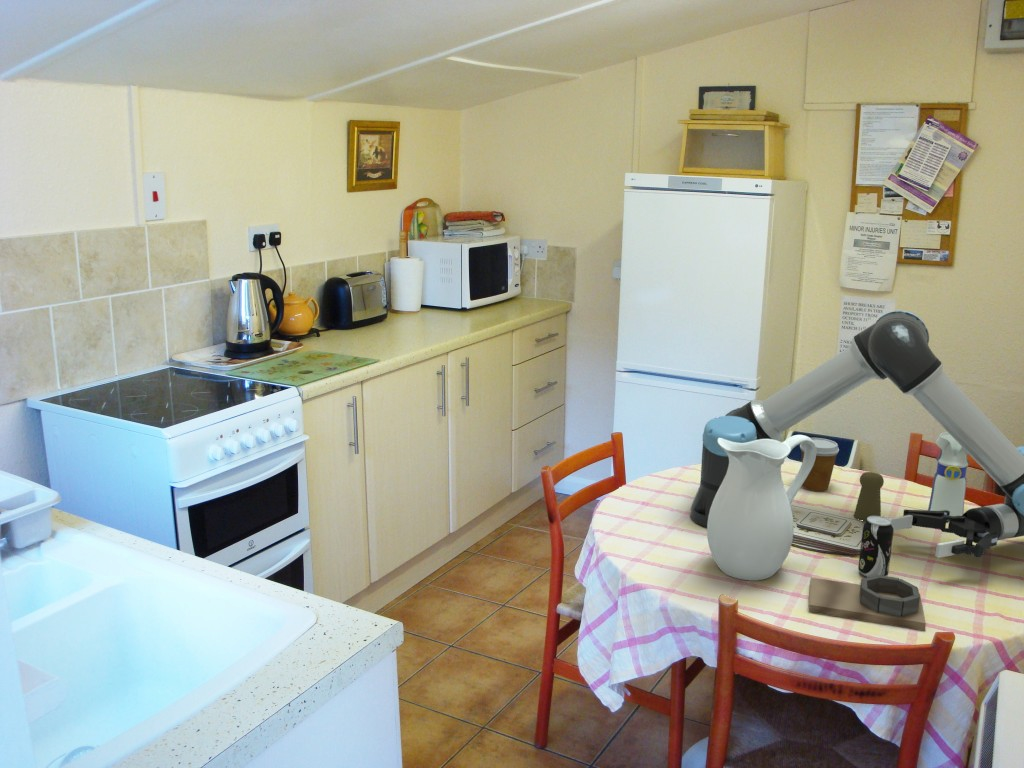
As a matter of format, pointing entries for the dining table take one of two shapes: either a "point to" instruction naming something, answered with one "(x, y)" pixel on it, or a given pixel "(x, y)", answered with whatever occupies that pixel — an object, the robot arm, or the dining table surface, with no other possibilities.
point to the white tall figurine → (949, 477)
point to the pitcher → (755, 507)
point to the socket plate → (851, 606)
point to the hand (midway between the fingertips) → (911, 537)
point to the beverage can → (875, 546)
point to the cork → (869, 496)
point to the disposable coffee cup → (821, 464)
